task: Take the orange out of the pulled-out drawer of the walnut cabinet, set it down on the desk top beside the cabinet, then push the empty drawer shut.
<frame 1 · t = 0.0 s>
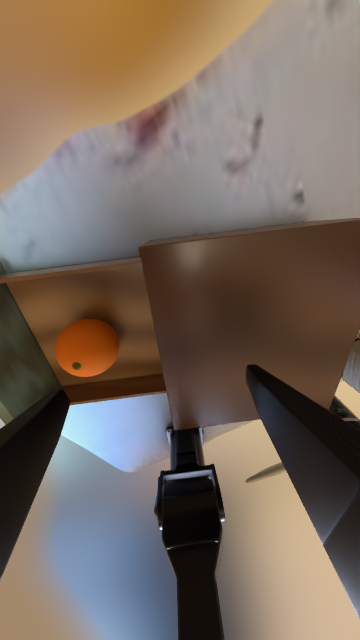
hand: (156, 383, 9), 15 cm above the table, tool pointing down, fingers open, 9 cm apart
orange: (99, 332, 22), point 2 cm above the table, touching drawer
cabinet: (227, 310, 24), on the table
beverage can: (296, 386, 31), on the table
drawer: (78, 347, 19), point 5 cm above the table, slide at 15.0 cm, touching orange
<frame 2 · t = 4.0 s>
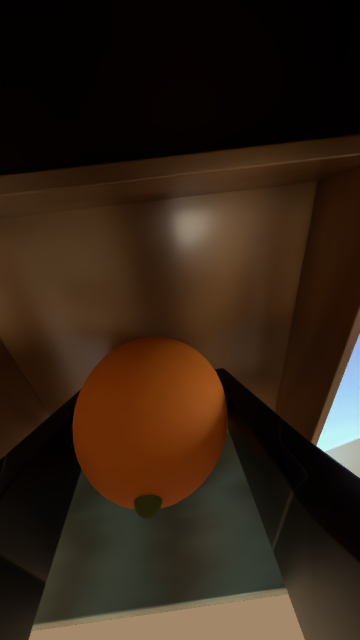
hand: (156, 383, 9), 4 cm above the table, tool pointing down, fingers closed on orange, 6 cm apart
orange: (157, 362, 10), point 2 cm above the table, touching drawer, gripper
drawer: (159, 422, 8), point 5 cm above the table, slide at 15.0 cm, touching orange
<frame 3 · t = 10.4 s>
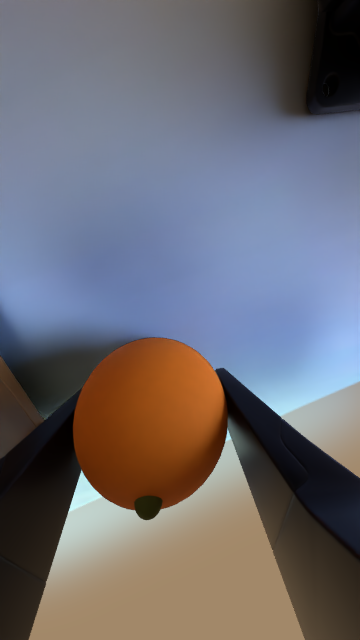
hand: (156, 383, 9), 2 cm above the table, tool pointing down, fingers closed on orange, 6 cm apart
orange: (158, 362, 10), on the table, touching gripper
when the fingers open (2 cm above the table, at t = 14.4 s): orange stays where it is, on the table.
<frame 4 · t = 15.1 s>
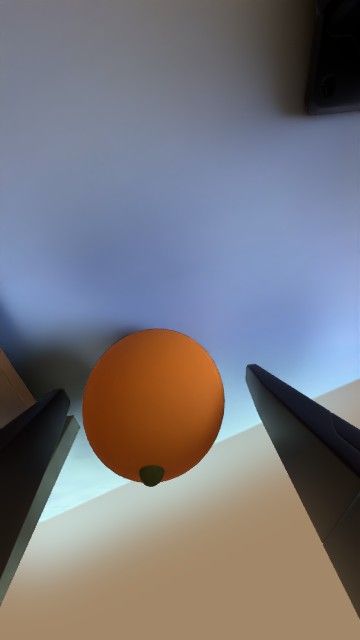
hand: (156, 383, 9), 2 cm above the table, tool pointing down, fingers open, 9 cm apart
orange: (159, 354, 11), on the table
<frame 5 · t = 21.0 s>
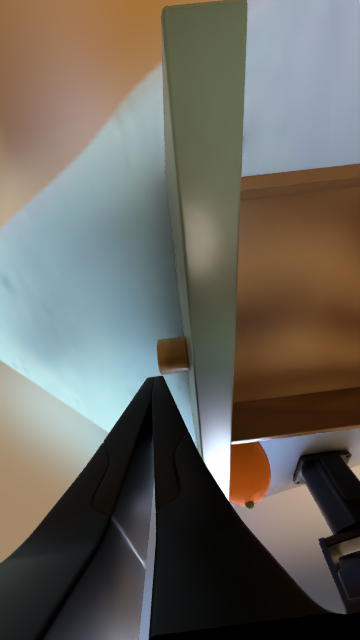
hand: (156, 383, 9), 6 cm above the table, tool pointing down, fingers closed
orange: (228, 433, 21), on the table
drawer: (325, 345, 10), point 5 cm above the table, slide at 14.9 cm, touching gripper
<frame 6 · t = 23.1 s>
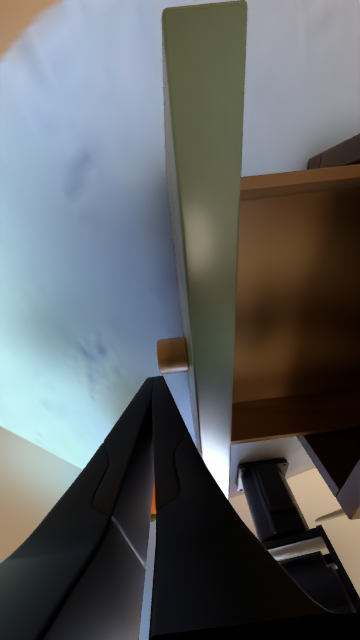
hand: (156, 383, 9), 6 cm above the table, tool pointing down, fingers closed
drawer: (325, 345, 10), point 5 cm above the table, slide at 6.6 cm, touching gripper
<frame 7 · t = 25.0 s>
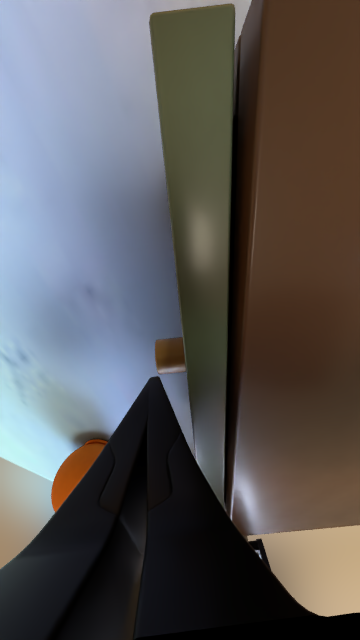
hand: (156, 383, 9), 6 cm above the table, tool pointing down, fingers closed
orange: (98, 447, 21), on the table
cabinet: (308, 309, 14), on the table
drawer: (325, 348, 10), point 5 cm above the table, slide at -0.1 cm, touching gripper
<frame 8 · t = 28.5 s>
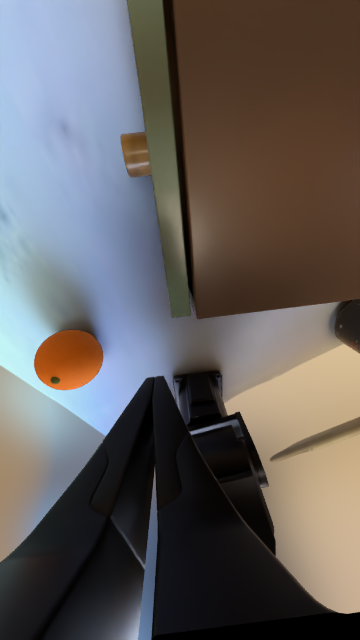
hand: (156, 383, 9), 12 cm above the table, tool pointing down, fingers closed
orange: (83, 342, 21), on the table
cabinet: (275, 159, 15), on the table
beverage can: (354, 315, 22), on the table
drawer: (280, 134, 11), point 5 cm above the table, slide at 0.0 cm
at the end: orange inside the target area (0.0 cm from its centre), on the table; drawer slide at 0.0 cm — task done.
